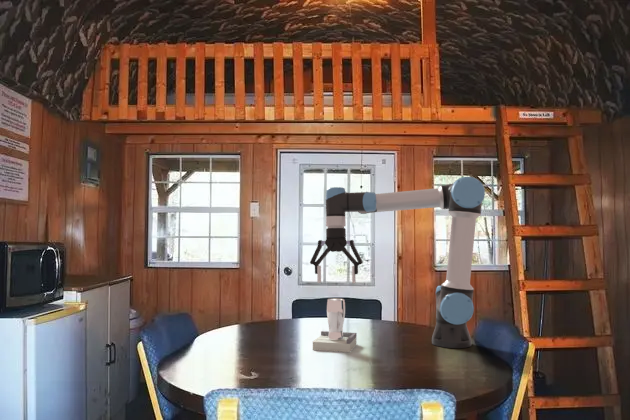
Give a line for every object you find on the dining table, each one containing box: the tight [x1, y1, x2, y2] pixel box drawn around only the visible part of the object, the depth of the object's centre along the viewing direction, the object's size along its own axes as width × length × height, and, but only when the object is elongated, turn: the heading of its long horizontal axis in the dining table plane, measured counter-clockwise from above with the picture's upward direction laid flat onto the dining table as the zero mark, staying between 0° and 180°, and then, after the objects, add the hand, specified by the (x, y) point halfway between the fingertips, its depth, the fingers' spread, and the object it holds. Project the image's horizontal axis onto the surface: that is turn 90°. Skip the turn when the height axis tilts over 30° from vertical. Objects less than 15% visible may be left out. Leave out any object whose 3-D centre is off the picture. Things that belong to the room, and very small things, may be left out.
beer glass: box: [326, 297, 346, 340], centre depth 198 cm, size 7×7×15 cm
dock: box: [312, 330, 357, 353], centre depth 197 cm, size 14×14×4 cm
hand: (336, 282), depth 198 cm, fingers open, 13 cm apart
